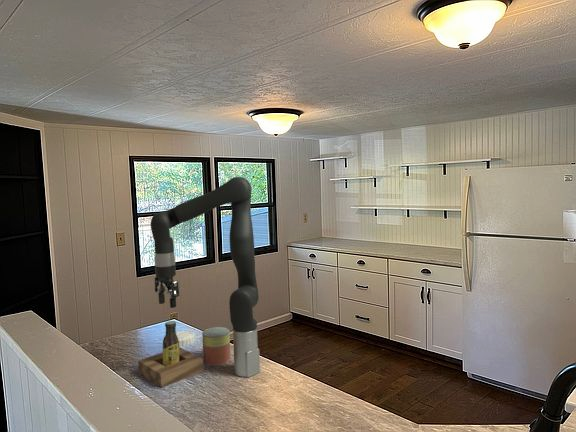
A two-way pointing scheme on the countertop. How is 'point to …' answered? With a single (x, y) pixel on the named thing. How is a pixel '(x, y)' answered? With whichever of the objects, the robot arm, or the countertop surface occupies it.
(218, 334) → the canned food
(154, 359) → the square wooden frame
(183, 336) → the cream scalloped thick disc
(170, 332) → the sauce bottle
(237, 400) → the countertop surface
